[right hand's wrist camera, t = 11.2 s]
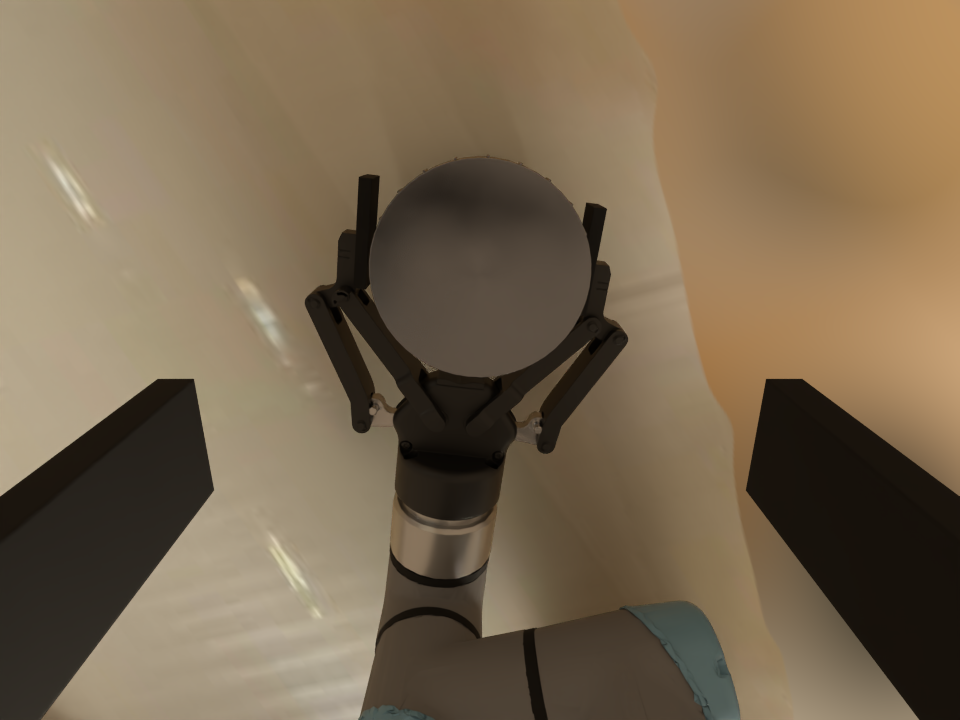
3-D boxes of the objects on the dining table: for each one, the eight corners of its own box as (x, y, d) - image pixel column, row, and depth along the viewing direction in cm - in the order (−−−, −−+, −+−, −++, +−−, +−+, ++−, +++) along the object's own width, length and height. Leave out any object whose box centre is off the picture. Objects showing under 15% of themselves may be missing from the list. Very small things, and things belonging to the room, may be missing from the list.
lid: (334, 287, 30) (325, 297, 28) (457, 106, 27) (455, 103, 25) (498, 401, 33) (500, 417, 31) (629, 244, 30) (639, 251, 28)
